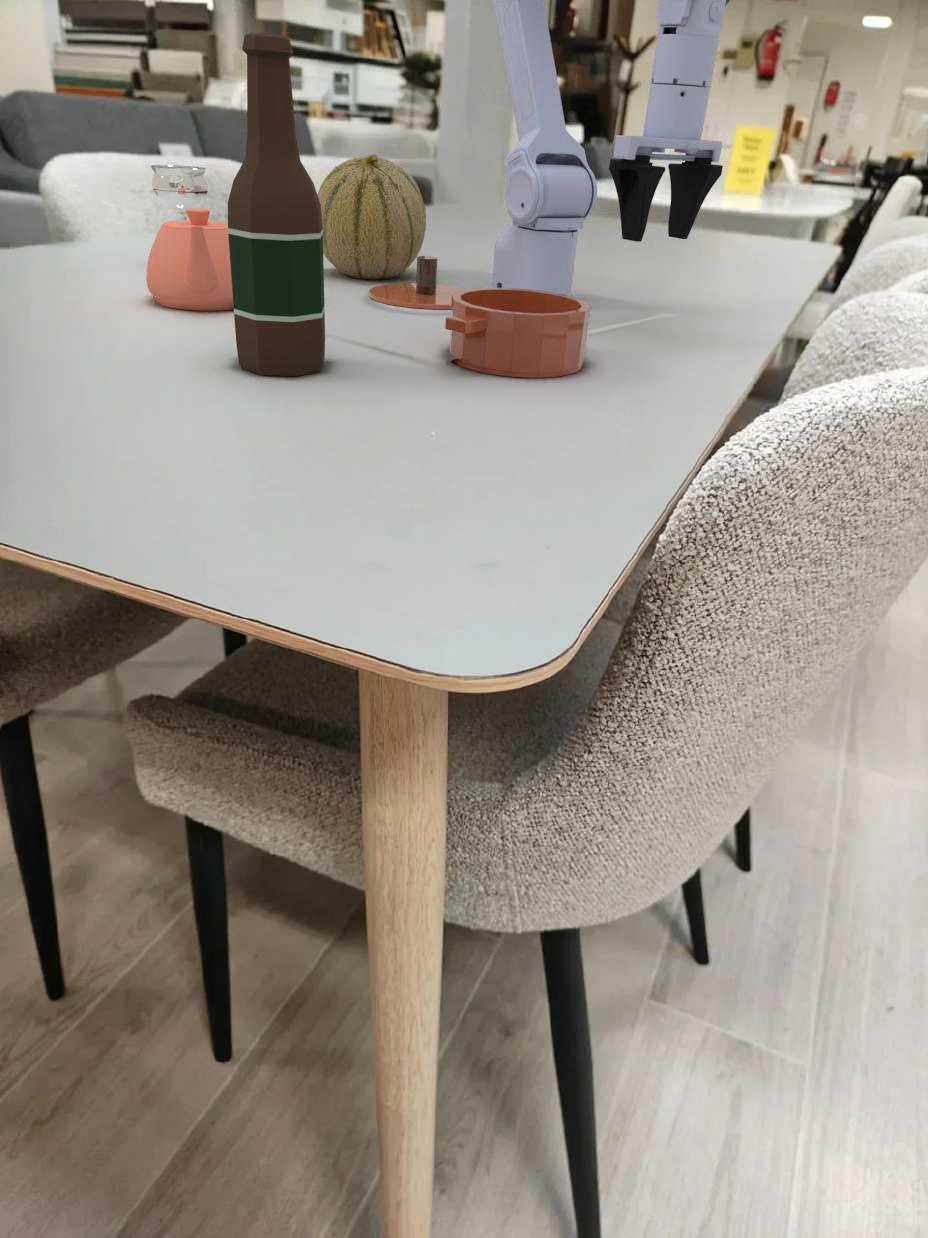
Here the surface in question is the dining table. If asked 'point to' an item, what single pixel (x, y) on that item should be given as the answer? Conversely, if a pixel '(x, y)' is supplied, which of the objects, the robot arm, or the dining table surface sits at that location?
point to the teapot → (191, 264)
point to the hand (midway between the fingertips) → (655, 238)
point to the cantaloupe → (371, 218)
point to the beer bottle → (275, 228)
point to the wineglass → (180, 187)
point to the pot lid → (418, 289)
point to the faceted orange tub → (518, 332)
